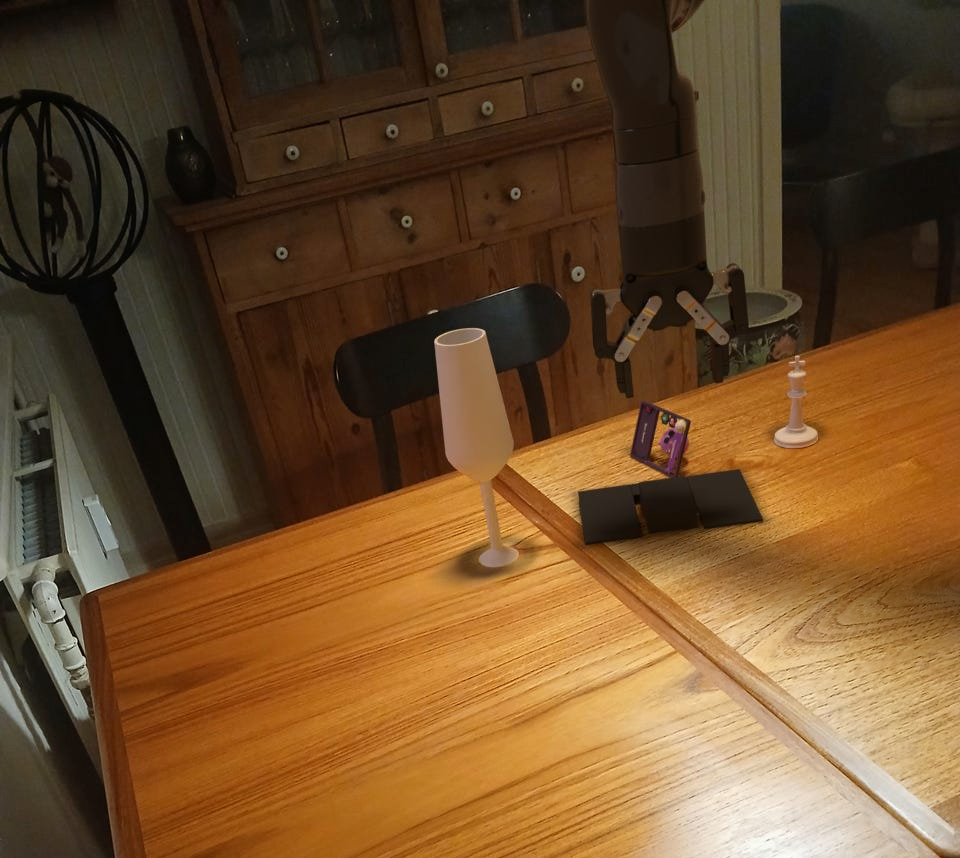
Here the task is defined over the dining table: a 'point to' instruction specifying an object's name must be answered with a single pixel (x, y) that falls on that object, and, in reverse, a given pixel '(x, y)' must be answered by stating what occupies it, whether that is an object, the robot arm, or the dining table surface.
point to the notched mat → (615, 509)
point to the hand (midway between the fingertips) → (673, 388)
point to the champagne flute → (475, 422)
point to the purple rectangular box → (670, 443)
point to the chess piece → (796, 414)
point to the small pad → (668, 505)
